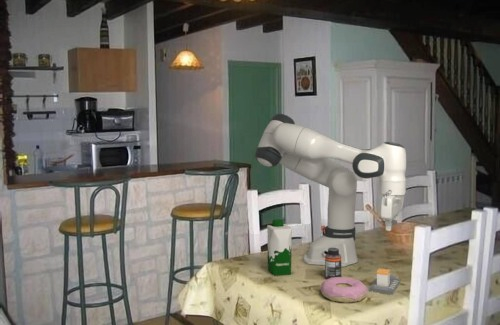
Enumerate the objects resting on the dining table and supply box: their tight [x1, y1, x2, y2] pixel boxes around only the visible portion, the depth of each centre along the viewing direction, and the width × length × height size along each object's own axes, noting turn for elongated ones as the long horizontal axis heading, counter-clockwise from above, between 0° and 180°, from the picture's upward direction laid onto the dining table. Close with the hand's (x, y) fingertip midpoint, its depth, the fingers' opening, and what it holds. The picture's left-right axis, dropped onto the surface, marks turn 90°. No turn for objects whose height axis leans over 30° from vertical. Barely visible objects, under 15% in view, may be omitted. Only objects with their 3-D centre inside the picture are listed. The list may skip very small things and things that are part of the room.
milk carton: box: [266, 218, 293, 277], centre depth 195 cm, size 9×9×20 cm
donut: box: [320, 276, 368, 304], centre depth 170 cm, size 16×15×5 cm
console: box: [368, 274, 401, 295], centre depth 179 cm, size 14×8×2 cm, turn 153°
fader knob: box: [376, 268, 391, 286], centre depth 176 cm, size 4×4×5 cm
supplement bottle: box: [324, 248, 342, 280], centre depth 188 cm, size 6×6×11 cm
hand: (391, 227), depth 178 cm, fingers open, 8 cm apart
